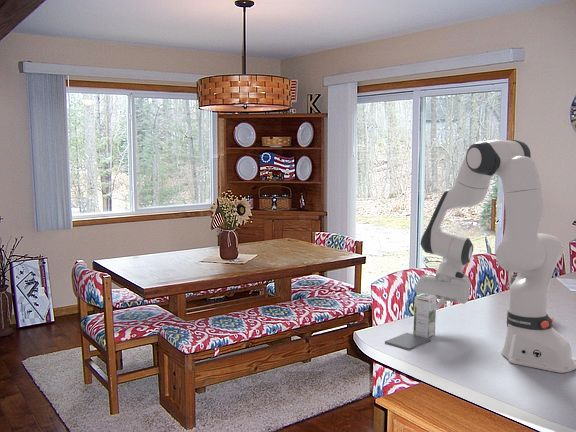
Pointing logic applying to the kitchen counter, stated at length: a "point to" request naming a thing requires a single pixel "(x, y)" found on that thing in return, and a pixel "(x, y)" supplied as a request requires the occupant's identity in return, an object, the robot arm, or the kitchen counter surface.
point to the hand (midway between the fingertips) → (434, 307)
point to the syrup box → (424, 315)
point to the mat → (408, 341)
